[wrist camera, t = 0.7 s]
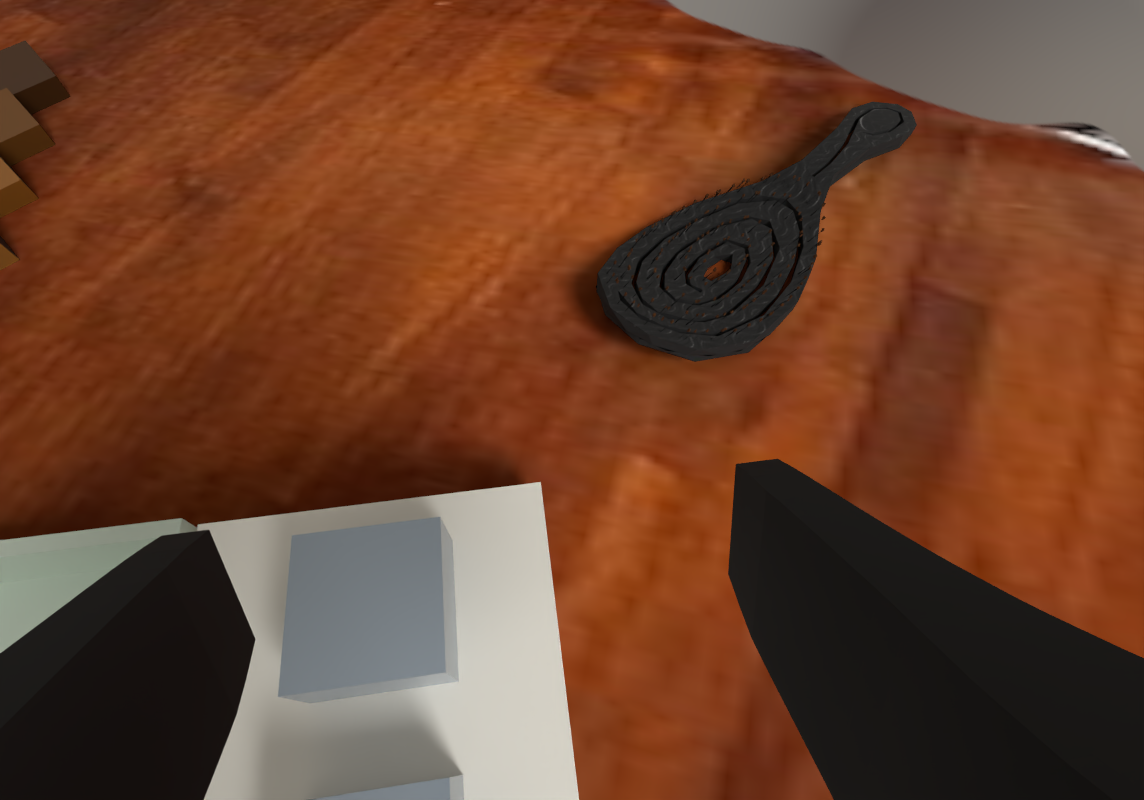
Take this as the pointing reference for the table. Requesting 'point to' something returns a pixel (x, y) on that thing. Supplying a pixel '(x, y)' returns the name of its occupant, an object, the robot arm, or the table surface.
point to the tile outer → (369, 611)
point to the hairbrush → (738, 249)
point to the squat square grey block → (410, 791)
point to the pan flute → (22, 125)
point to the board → (419, 715)
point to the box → (64, 569)
